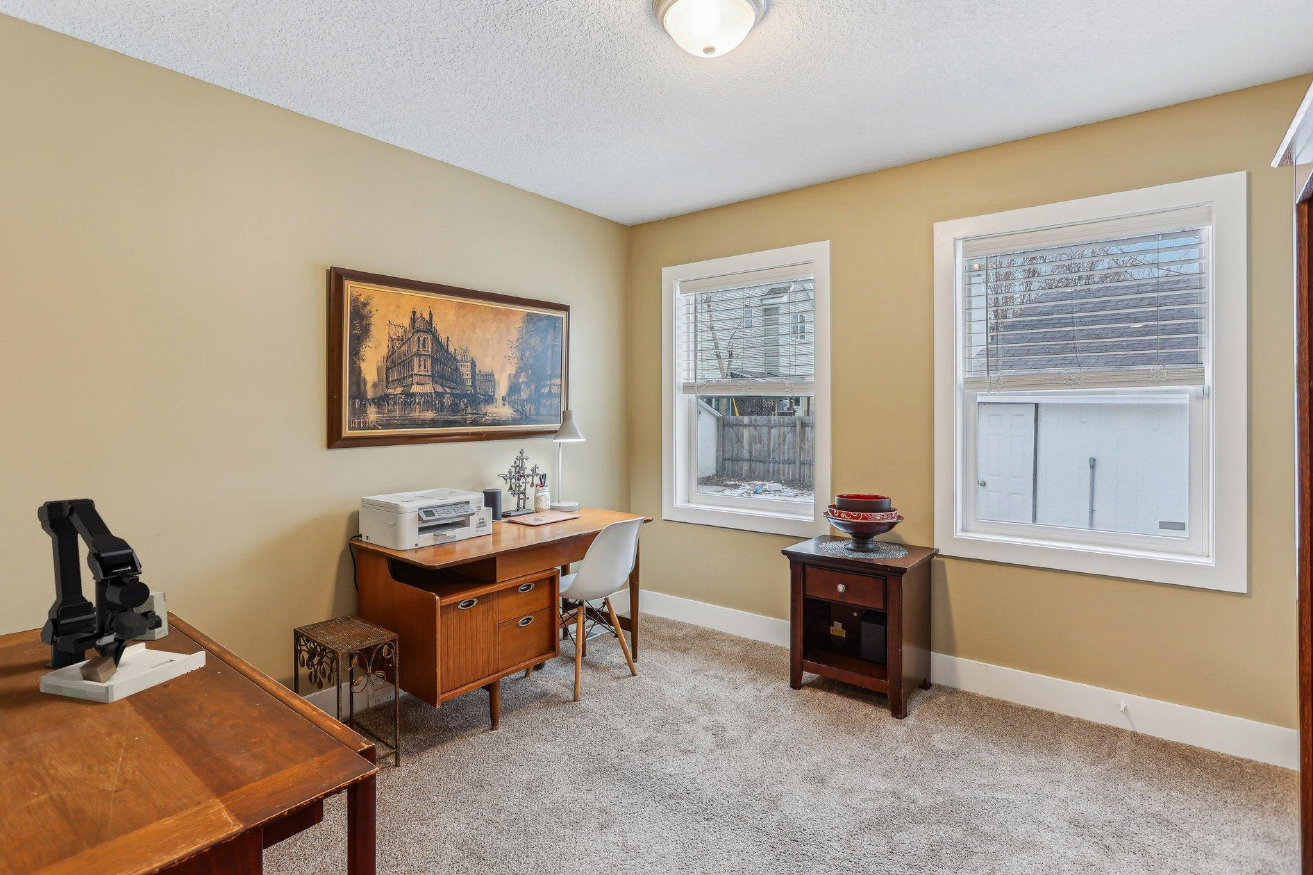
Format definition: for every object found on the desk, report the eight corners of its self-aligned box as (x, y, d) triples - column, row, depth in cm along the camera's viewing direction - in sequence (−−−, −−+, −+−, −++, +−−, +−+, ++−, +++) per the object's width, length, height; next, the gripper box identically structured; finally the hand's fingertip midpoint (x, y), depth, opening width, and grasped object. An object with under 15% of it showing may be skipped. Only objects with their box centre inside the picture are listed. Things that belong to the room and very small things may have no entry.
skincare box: (168, 635, 181) (168, 591, 180) (155, 640, 176) (154, 595, 176) (147, 634, 181) (146, 590, 181) (133, 639, 177) (132, 594, 177)
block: (84, 683, 144) (79, 668, 143) (100, 670, 148) (95, 656, 146) (102, 683, 144) (96, 668, 142) (117, 671, 147) (112, 656, 146)
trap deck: (40, 691, 144) (39, 675, 144) (142, 656, 165) (142, 642, 165) (108, 703, 139) (108, 686, 139) (205, 665, 160) (205, 651, 160)
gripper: (93, 616, 137) (94, 690, 138) (179, 593, 155) (180, 659, 156) (54, 611, 140) (55, 684, 141) (143, 589, 158) (144, 654, 159)
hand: (112, 669), depth 149 cm, fingers closed
